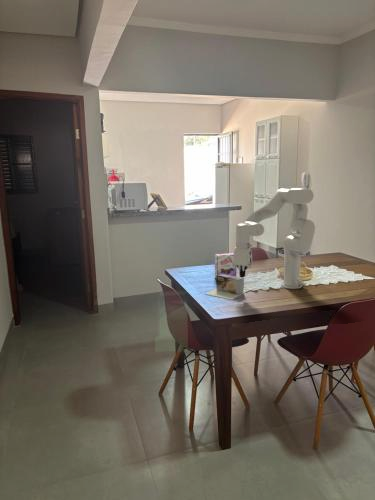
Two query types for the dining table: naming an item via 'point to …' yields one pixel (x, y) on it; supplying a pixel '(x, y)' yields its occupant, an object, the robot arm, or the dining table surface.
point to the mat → (223, 294)
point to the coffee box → (230, 283)
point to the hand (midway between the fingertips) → (242, 276)
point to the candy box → (225, 264)
